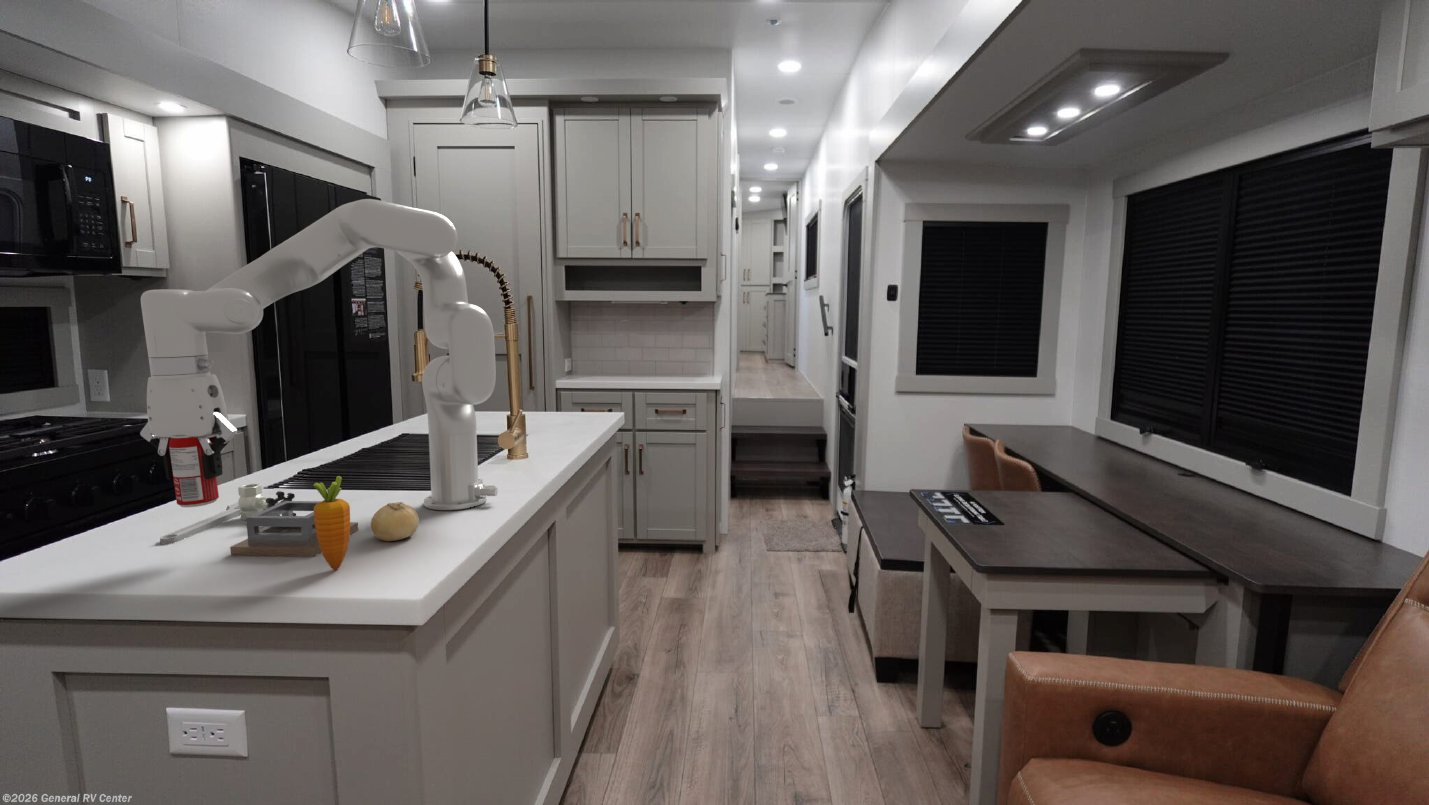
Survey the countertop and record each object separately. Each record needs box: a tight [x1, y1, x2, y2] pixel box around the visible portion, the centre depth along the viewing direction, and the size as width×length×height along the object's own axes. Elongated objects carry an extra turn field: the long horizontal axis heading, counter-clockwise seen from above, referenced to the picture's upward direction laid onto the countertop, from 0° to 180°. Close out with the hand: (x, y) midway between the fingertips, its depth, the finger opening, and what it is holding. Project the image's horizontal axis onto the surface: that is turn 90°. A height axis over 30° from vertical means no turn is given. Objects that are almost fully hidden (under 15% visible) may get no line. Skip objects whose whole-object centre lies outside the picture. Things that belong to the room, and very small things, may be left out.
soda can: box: [169, 436, 220, 508], centre depth 111 cm, size 6×6×12 cm
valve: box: [237, 483, 297, 521], centre depth 132 cm, size 7×7×12 cm
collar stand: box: [229, 500, 359, 557], centre depth 120 cm, size 14×14×6 cm
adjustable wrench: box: [159, 501, 241, 545], centre depth 131 cm, size 25×6×2 cm, turn 175°
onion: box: [370, 501, 420, 542], centre depth 123 cm, size 8×8×7 cm
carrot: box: [313, 475, 351, 571], centre depth 106 cm, size 5×5×15 cm
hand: (194, 476), depth 111 cm, fingers closed on soda can, 5 cm apart
